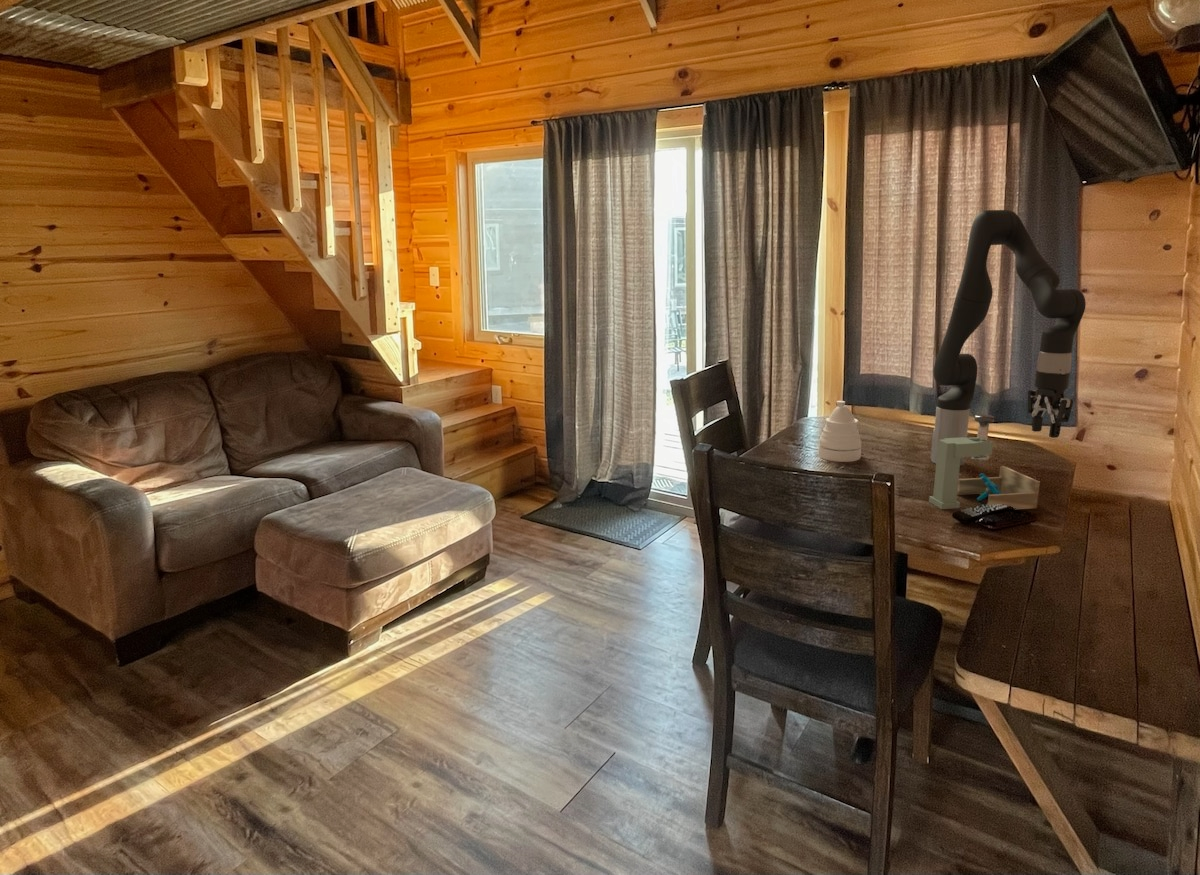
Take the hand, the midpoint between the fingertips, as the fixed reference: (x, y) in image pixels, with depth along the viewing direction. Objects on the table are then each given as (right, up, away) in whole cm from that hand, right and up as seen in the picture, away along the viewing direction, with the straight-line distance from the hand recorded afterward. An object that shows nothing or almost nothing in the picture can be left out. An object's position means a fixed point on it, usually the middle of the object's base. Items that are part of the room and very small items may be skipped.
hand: (1045, 433), depth 207 cm
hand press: (-22, -18, +1) cm, 28 cm away
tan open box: (-12, -18, +3) cm, 22 cm away
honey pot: (-39, -7, +47) cm, 62 cm away
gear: (-12, -18, +3) cm, 22 cm away
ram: (-17, -6, -1) cm, 18 cm away
